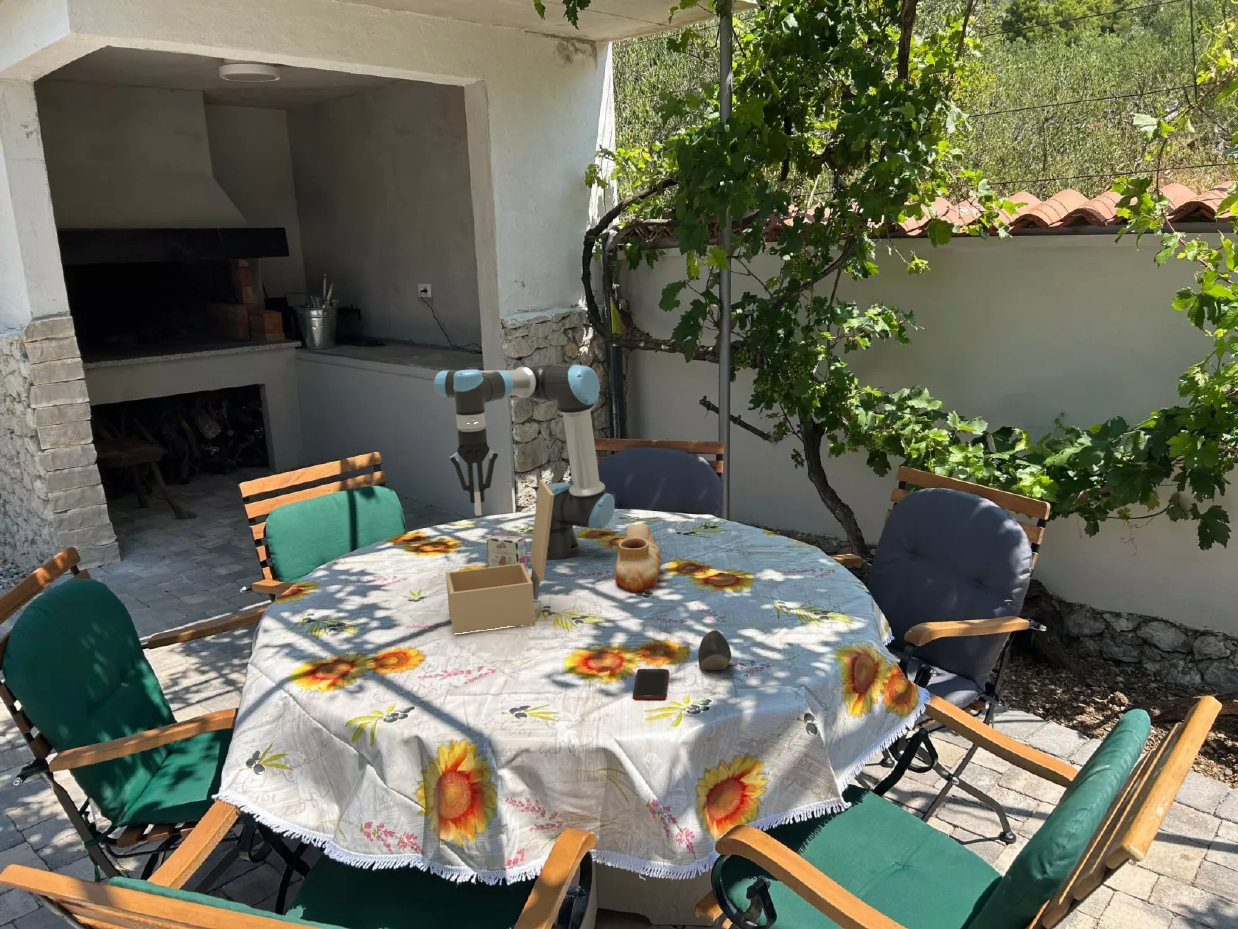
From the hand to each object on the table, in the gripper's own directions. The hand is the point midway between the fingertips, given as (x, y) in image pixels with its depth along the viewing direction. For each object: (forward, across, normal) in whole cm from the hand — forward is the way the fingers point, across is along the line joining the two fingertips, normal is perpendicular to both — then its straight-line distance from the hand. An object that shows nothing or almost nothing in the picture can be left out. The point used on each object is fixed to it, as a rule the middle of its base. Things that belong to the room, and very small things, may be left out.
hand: (478, 513), depth 254 cm
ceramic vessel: (+31, +49, +16) cm, 60 cm away
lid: (+10, +16, 0) cm, 19 cm away
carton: (+31, +1, 0) cm, 31 cm away
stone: (+31, +49, -50) cm, 76 cm away
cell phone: (+31, +32, -53) cm, 69 cm away
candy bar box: (+31, +10, +21) cm, 38 cm away
